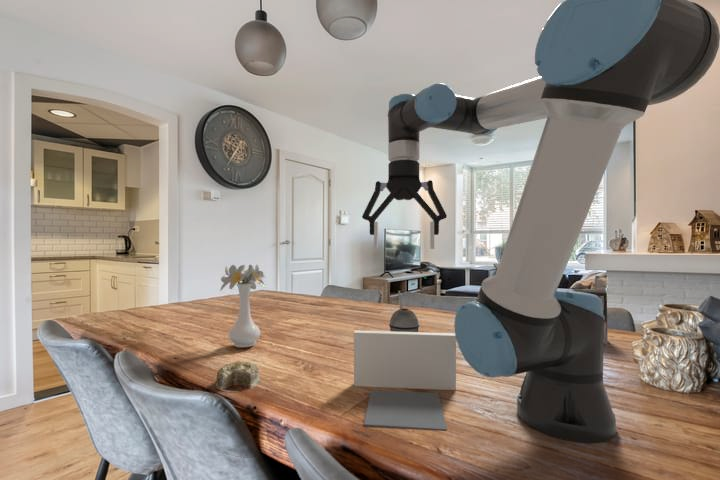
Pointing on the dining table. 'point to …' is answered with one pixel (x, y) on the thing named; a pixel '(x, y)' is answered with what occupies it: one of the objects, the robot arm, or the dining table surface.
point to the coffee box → (603, 296)
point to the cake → (237, 375)
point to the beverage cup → (403, 320)
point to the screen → (405, 359)
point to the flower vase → (243, 303)
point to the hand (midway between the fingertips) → (403, 248)
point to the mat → (405, 410)
